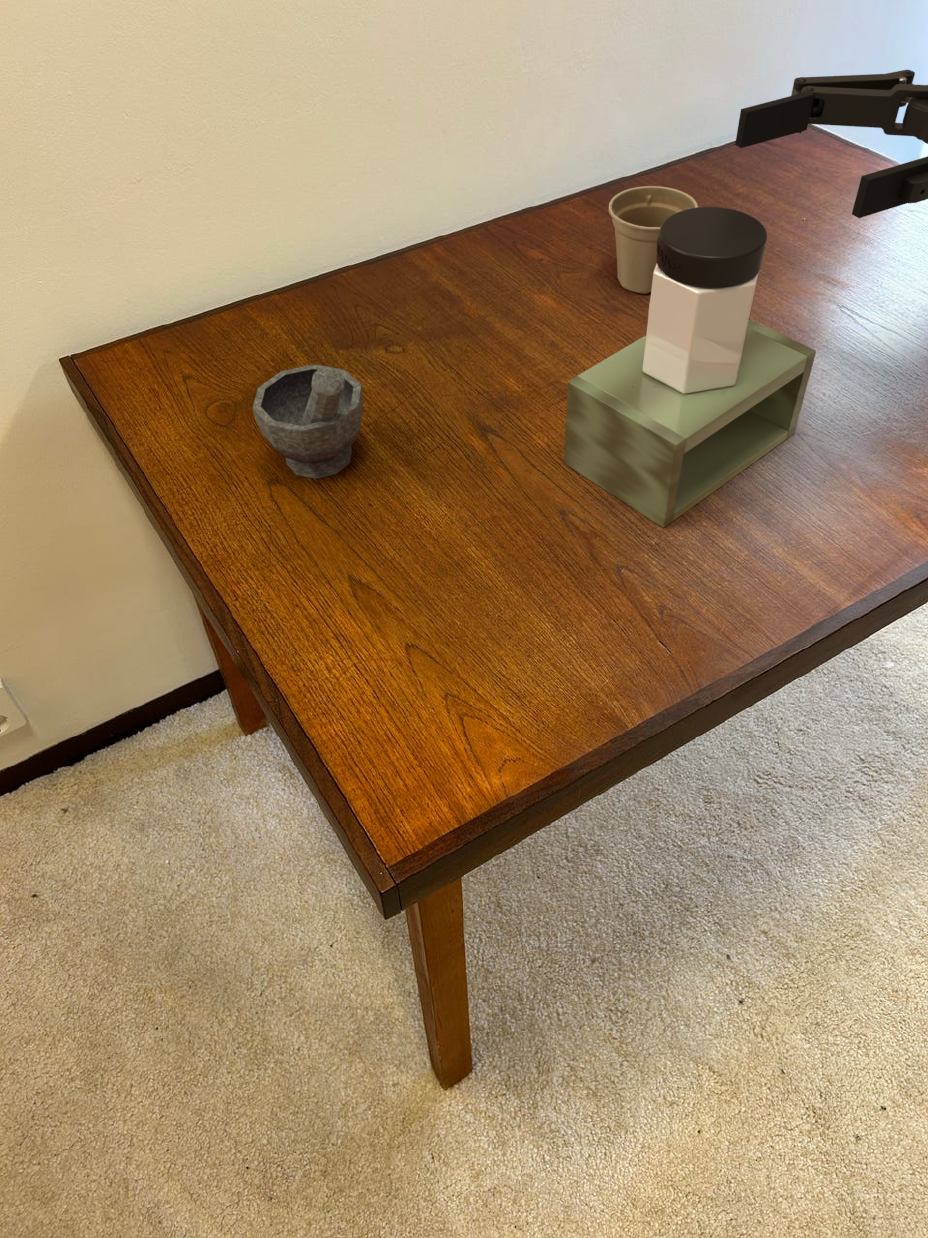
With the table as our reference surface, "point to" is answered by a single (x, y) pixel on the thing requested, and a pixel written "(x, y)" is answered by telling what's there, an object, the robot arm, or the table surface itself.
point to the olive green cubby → (682, 424)
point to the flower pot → (642, 230)
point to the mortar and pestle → (311, 417)
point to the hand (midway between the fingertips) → (796, 161)
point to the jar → (702, 297)
